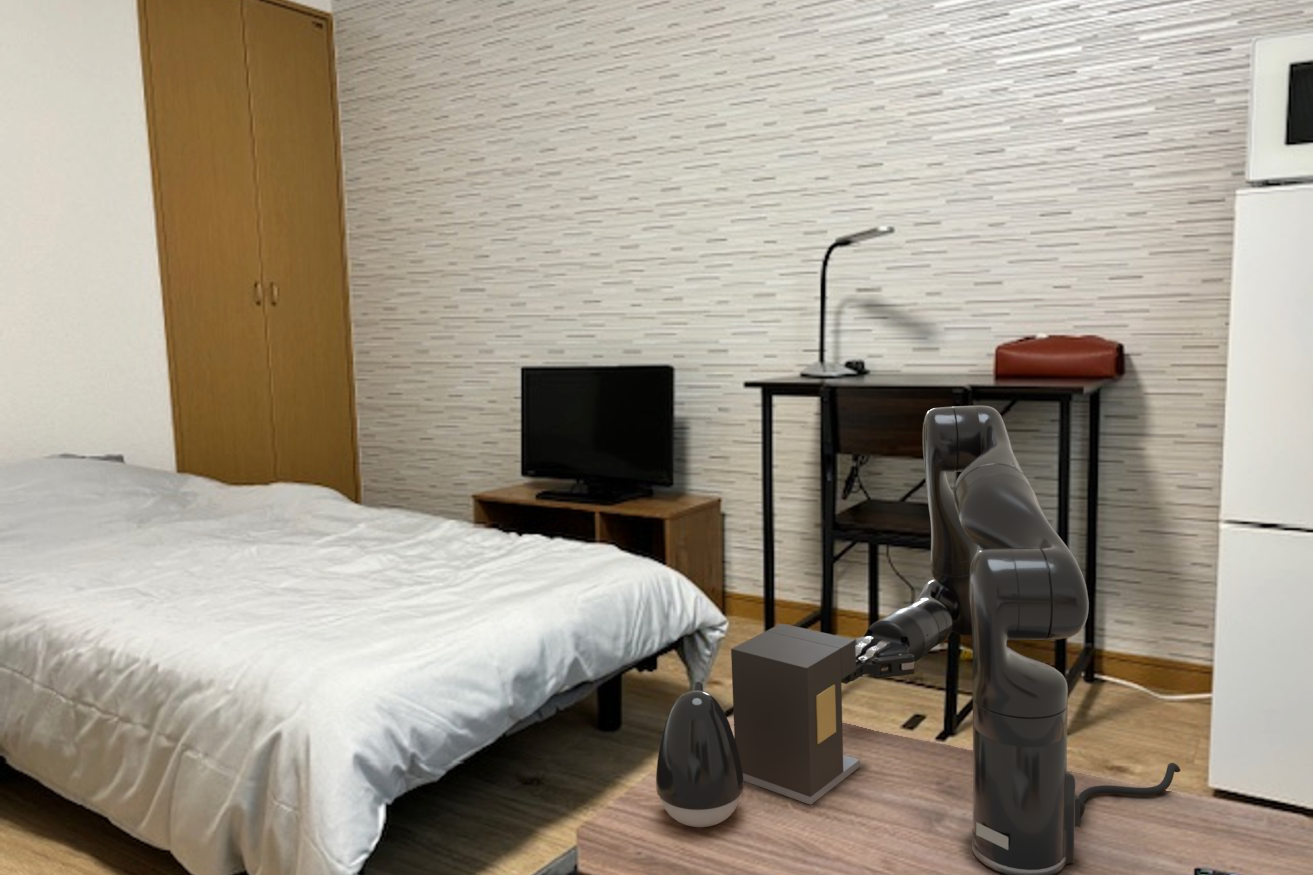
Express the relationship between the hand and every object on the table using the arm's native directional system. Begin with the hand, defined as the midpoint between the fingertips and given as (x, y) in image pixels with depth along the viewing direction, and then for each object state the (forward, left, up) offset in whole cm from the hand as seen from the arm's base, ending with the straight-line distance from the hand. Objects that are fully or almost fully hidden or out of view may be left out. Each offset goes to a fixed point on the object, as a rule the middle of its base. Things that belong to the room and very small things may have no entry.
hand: (840, 675), depth 131 cm
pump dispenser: (+22, +13, -9) cm, 27 cm away
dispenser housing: (+8, +7, -9) cm, 14 cm away
